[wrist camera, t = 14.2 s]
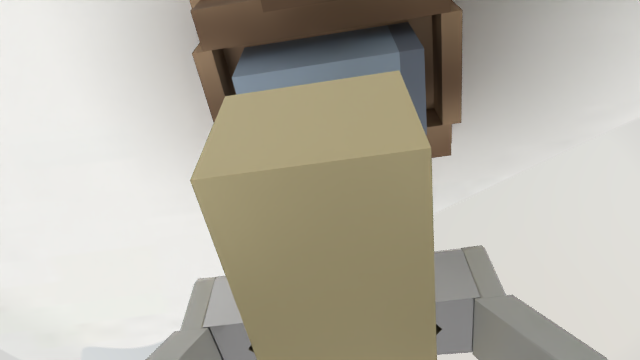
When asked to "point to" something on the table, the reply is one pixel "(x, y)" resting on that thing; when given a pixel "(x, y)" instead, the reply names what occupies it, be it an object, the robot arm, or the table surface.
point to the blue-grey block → (337, 61)
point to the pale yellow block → (325, 219)
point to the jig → (328, 18)
